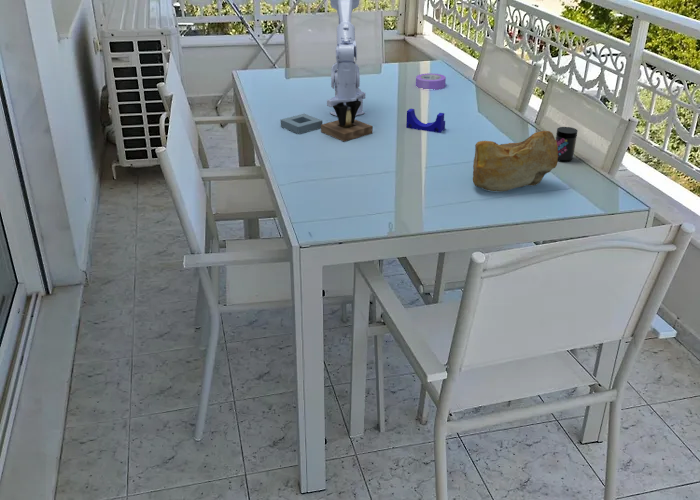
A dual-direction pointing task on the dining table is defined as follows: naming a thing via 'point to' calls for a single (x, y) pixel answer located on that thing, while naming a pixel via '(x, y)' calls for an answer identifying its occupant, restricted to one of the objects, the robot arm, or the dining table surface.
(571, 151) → the supplement container
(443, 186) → the dining table surface
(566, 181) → the dining table surface
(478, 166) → the rough brown rock
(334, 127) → the socket block
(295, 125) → the block
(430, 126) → the blue cradle block
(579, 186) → the dining table surface
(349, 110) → the spice jar
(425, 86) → the masking tape
